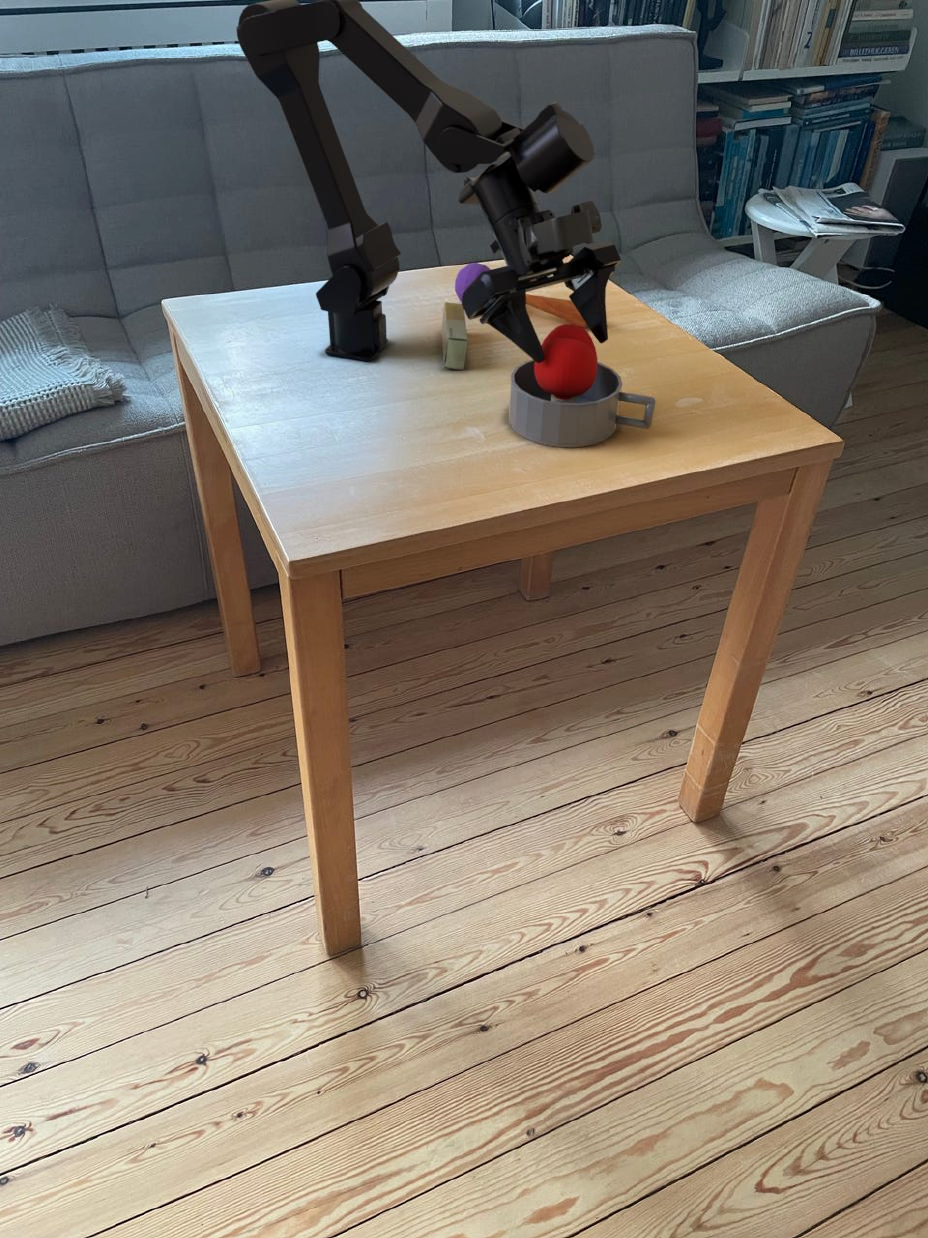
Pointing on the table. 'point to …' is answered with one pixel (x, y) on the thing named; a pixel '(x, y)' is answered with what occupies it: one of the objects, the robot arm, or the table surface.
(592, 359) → the light bulb
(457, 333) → the medication box
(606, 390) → the measuring cup
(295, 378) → the table surface
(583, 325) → the maraca
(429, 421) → the table surface
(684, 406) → the table surface
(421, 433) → the table surface
